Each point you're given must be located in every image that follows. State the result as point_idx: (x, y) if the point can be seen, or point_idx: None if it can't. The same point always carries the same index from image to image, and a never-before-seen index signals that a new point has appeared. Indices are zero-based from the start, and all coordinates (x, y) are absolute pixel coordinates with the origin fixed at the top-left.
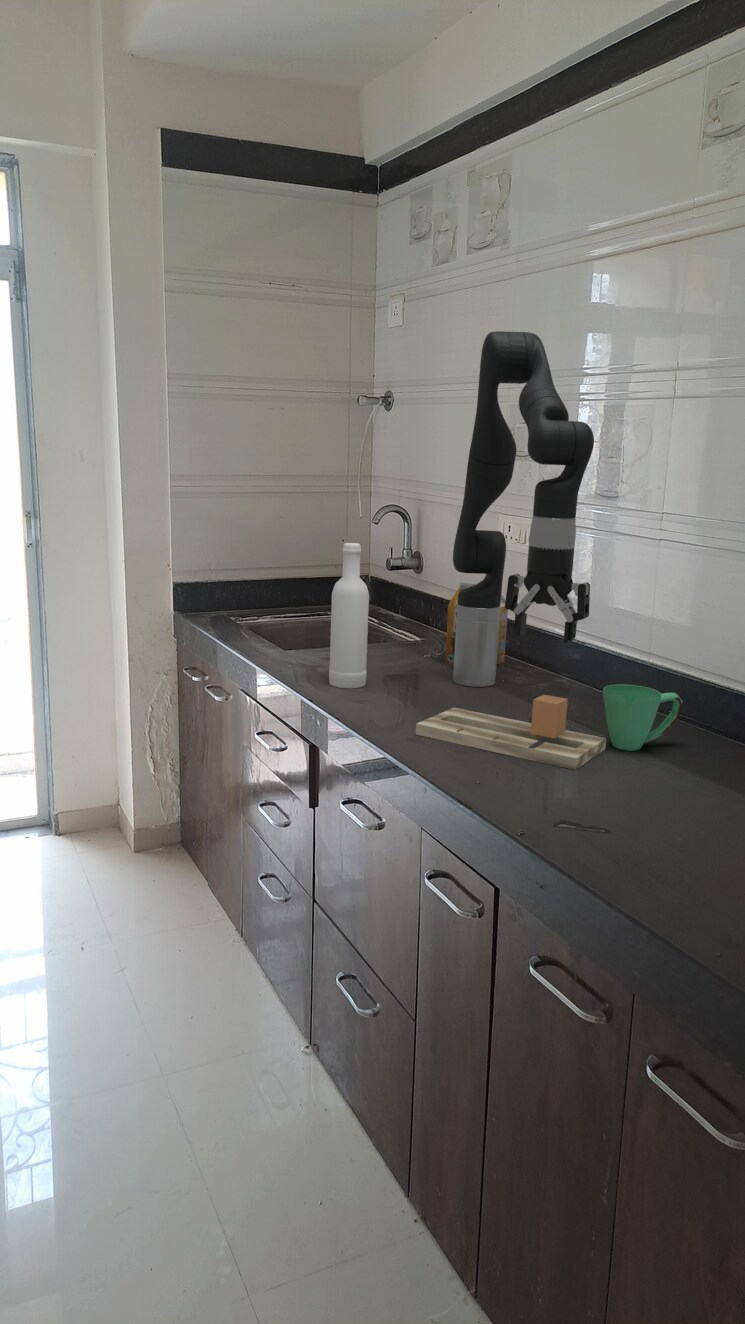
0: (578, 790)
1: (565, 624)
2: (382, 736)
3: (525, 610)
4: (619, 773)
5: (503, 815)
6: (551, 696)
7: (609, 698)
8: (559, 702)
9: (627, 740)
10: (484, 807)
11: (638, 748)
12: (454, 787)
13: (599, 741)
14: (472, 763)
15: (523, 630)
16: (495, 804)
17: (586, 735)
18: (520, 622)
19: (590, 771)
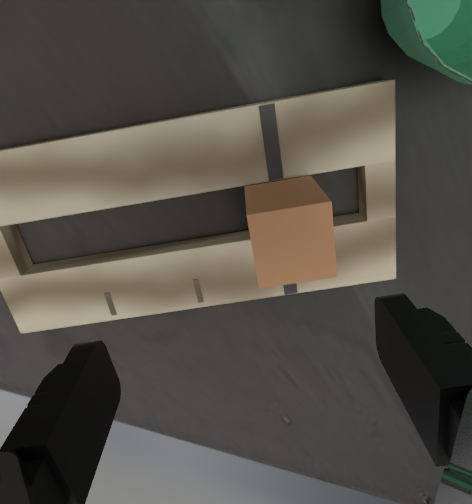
0: None
1: (431, 449)
2: (11, 368)
3: (28, 485)
4: (468, 217)
5: (382, 477)
6: (277, 216)
7: (450, 77)
8: (332, 258)
9: (450, 46)
10: (348, 474)
11: (462, 5)
12: (274, 452)
13: (390, 124)
14: (224, 366)
15: (101, 381)
16: (354, 460)
17: (341, 101)
18: (92, 463)
19: (413, 250)
